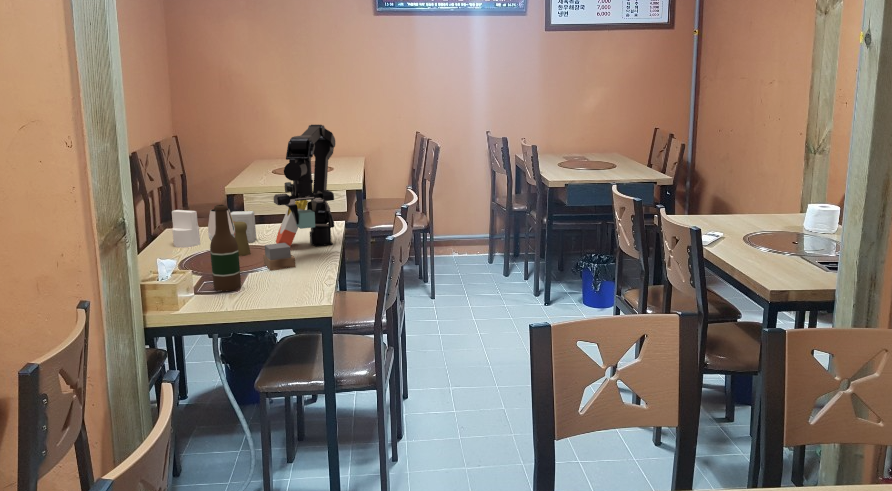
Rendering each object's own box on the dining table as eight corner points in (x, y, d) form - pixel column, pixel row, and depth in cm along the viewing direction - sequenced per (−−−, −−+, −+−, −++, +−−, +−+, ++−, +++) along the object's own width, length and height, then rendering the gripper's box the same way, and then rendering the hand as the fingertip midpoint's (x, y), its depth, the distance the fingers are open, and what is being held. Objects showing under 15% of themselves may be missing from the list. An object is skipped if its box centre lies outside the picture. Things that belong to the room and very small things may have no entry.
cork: (245, 256, 255) (243, 223, 252) (228, 255, 256) (226, 223, 254) (253, 252, 261) (251, 220, 258) (237, 251, 262) (234, 219, 259)
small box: (256, 239, 280) (254, 210, 278) (253, 242, 275) (251, 213, 272) (234, 239, 280) (232, 211, 277) (230, 243, 274) (228, 214, 272)
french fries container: (276, 246, 260) (296, 197, 259) (274, 239, 271) (293, 192, 269) (289, 250, 262) (308, 202, 260) (286, 243, 272) (305, 196, 270)
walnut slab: (288, 262, 248) (288, 252, 247) (295, 268, 241) (295, 257, 240) (264, 266, 244) (263, 255, 243) (270, 271, 237) (269, 260, 236)
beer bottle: (216, 284, 223) (209, 203, 217) (243, 283, 223) (237, 202, 218) (210, 292, 215) (203, 208, 210) (238, 291, 216) (232, 207, 210)
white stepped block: (168, 246, 271) (164, 212, 268) (185, 240, 279) (182, 208, 276) (188, 248, 268) (185, 214, 265) (205, 242, 276) (202, 209, 273)
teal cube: (310, 224, 255) (310, 209, 254) (315, 227, 251) (314, 212, 250) (296, 226, 253) (295, 211, 252) (300, 228, 249) (299, 213, 247)
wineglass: (214, 279, 228) (208, 213, 223) (209, 273, 235) (203, 209, 230) (241, 275, 232) (236, 210, 227) (235, 269, 238) (230, 206, 234)
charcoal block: (285, 253, 246) (284, 242, 245) (291, 257, 240) (290, 246, 239) (265, 255, 243) (264, 245, 242) (270, 260, 237) (269, 249, 236)
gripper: (322, 171, 259) (325, 216, 263) (267, 175, 251) (271, 222, 254) (333, 175, 249) (335, 222, 253) (276, 179, 241) (279, 228, 245)
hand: (305, 223), depth 252 cm, fingers closed on teal cube, 5 cm apart
